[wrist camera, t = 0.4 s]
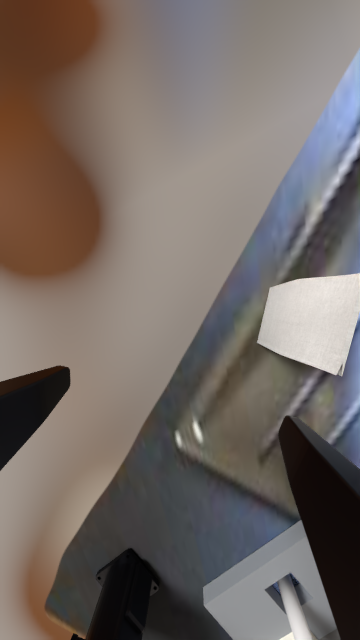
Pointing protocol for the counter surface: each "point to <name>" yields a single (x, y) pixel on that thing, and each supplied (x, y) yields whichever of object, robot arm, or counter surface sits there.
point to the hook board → (272, 593)
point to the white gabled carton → (313, 320)
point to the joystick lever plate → (329, 639)
